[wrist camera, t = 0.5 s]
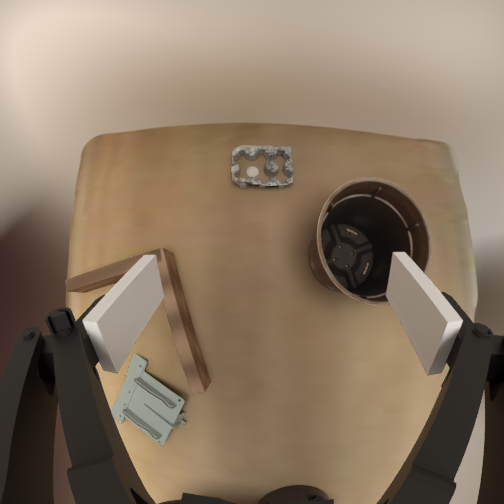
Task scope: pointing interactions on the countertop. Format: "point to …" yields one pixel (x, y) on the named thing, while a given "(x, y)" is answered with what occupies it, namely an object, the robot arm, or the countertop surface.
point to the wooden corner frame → (173, 307)
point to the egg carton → (270, 166)
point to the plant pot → (368, 238)
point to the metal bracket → (148, 403)
